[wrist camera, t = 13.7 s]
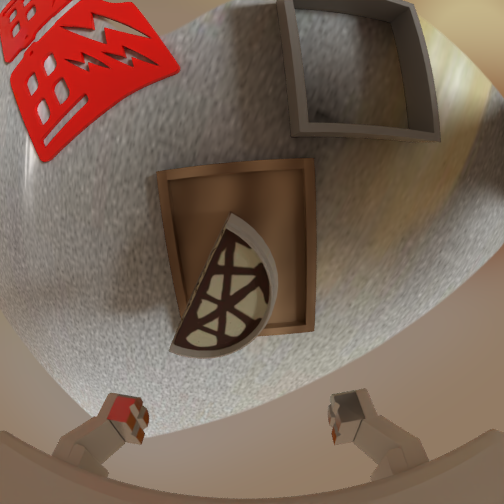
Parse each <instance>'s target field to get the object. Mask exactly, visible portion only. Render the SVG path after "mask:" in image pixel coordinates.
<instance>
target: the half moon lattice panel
mask: <svg viewBox="0 0 504 504" xmlns="http://www.w3.org/2000/svg"><path fill="white" fill-rule="evenodd" d="M277 291H278V273H277V269H276V264H275V261H274V258H273V256H272V254H271V251H270V249H269V248H268V246H267V244H266V243H265V241H264V240H263V238H262V237H261V236H260V235H259V234H258V233H257V232H256V230H255V229H254V228H253V227H251V226H250V225H249V224H248V223H246V222H245V221H244V220H243V219H242V218H240V217H239V216H238V215H236V214H234V213H233V212H231V211H230V213H229V215H228V217H227V219H226V221H225V223H224V225H223V227H222V229H221V231H220V233H219V236H218V238H217V240H216V242H215V244H214V246H213V248H212V250H211V252H210V255H209V257H208V259H207V261H206V263H205V265H204V267H203V270H202V272H201V274H200V276H199V278H198V281H197V283H196V285H195V287H194V289H193V292H192V294H191V297H190V299H189V302H188V304H187V306H186V309H185V311H184V314H183V316H182V319H181V321H180V324H179V326H178V329H177V331H176V334H175V336H174V339H173V341H172V343H171V346H170V349H169V352H172V353H174V354H177V355H181V356H185V357H190V358H199V359H204V358H216V357H222V356H225V355H229V354H232V353H234V352H236V351H238V350H240V349H242V348H243V347H245V346H246V345H248V344H249V343H250V342H252V341H253V340H254V339H255V338H256V337H257V336H258V335H259V334H260V332H261V331H262V330H263V328H264V327H265V326H266V324H267V322H268V321H269V319H270V317H271V315H272V311H273V308H274V305H275V301H276V298H277Z"/></svg>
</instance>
